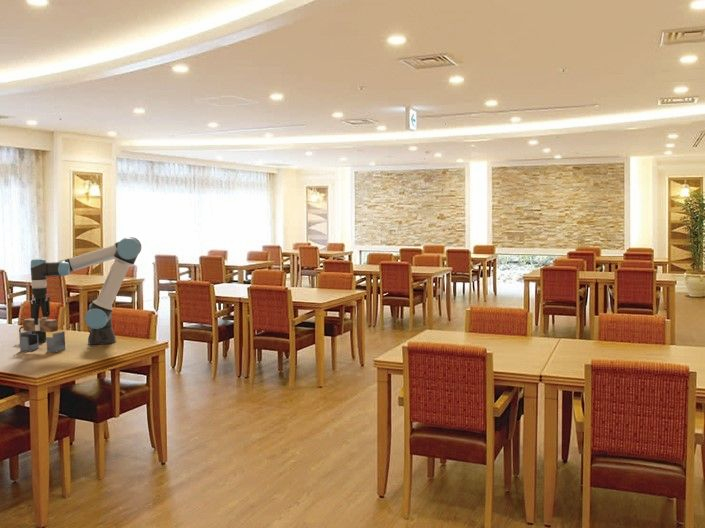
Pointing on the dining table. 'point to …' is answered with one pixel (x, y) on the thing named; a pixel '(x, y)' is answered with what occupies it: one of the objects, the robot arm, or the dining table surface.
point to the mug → (40, 335)
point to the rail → (41, 325)
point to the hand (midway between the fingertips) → (41, 329)
